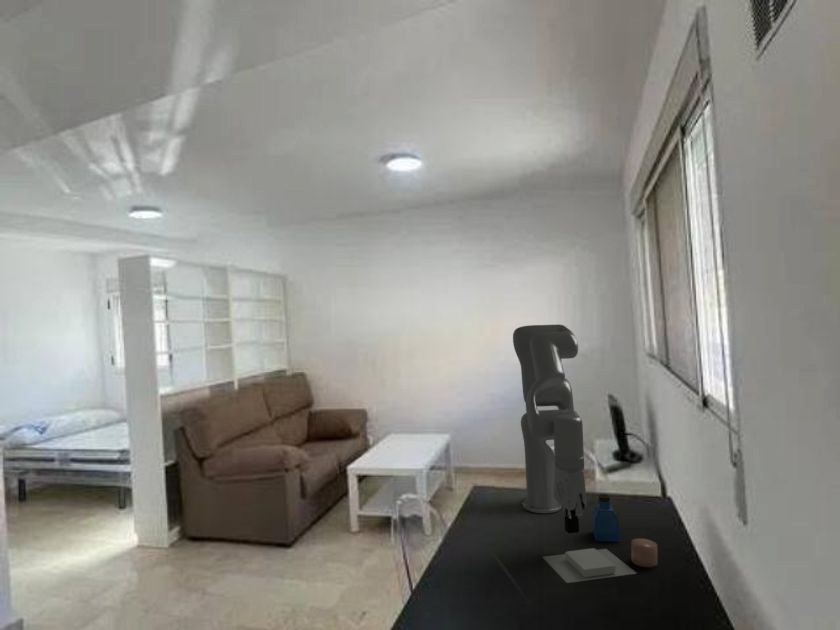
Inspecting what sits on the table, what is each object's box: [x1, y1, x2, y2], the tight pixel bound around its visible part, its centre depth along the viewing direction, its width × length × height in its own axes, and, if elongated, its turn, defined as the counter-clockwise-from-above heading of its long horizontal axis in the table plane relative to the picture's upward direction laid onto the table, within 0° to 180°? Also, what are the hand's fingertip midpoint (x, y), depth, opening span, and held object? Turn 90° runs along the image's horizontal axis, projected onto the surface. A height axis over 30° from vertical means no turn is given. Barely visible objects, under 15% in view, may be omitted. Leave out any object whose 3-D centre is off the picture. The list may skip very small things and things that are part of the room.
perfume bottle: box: [591, 493, 620, 543], centre depth 147 cm, size 6×6×12 cm
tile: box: [564, 547, 616, 577], centre depth 130 cm, size 2×8×10 cm
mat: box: [542, 548, 638, 584], centre depth 130 cm, size 14×18×1 cm
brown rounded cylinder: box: [630, 537, 658, 568], centre depth 131 cm, size 6×6×5 cm
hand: (572, 531), depth 138 cm, fingers closed
